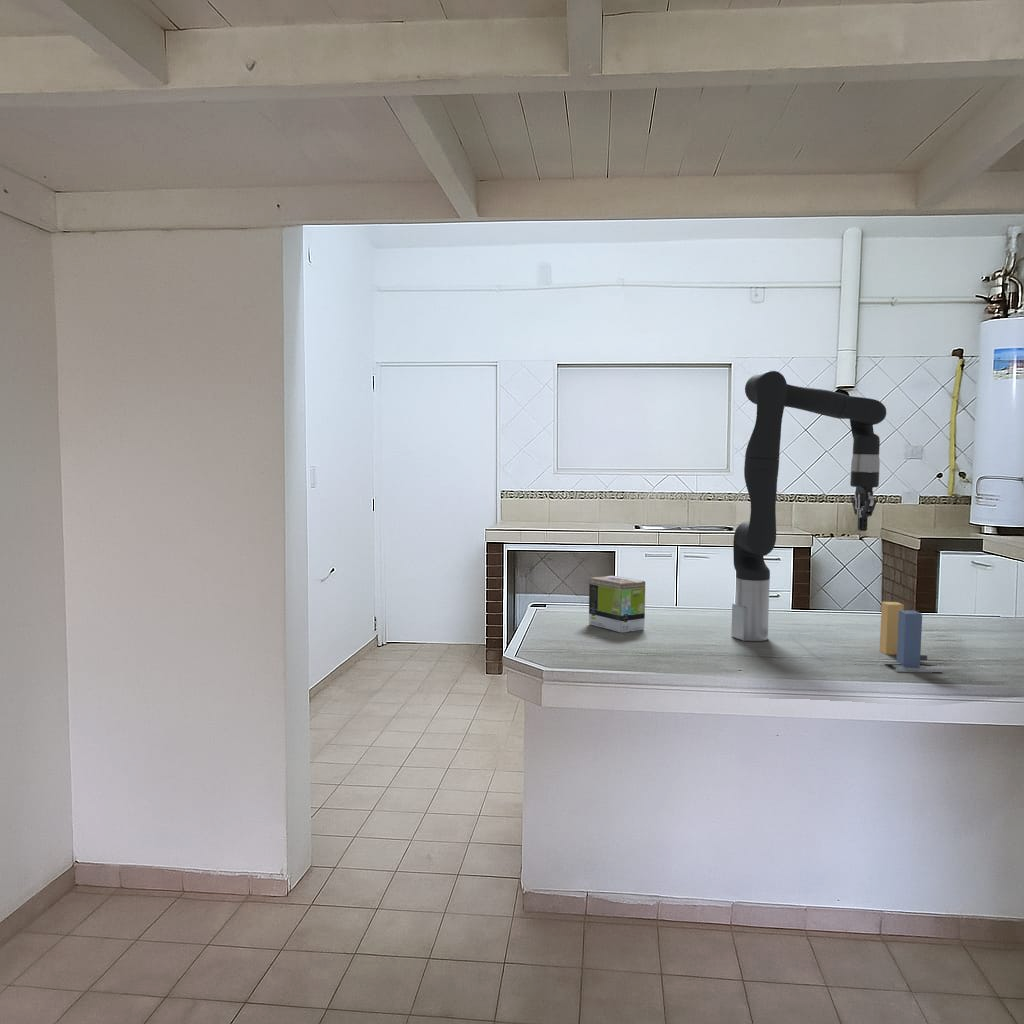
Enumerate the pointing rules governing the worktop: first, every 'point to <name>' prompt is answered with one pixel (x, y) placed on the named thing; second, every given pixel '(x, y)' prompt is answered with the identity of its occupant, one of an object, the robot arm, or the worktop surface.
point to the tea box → (617, 603)
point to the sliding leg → (889, 627)
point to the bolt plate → (914, 668)
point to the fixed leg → (909, 638)
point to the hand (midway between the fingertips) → (862, 530)
